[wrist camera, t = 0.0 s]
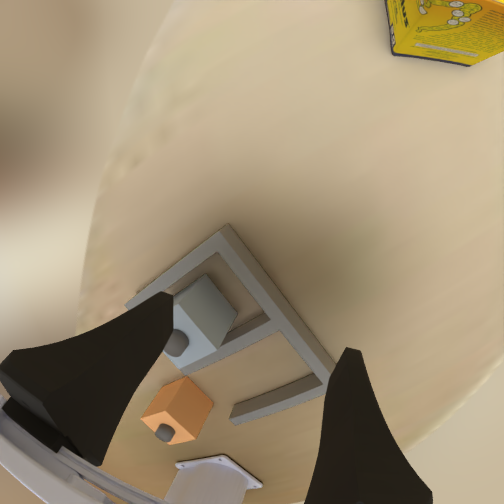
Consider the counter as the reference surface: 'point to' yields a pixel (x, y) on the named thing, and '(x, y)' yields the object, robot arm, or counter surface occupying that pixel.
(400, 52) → the supplement box
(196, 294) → the seated plug
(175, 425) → the orange plug
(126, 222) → the counter surface
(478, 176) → the counter surface
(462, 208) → the counter surface
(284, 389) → the e-shaped shelf rack
